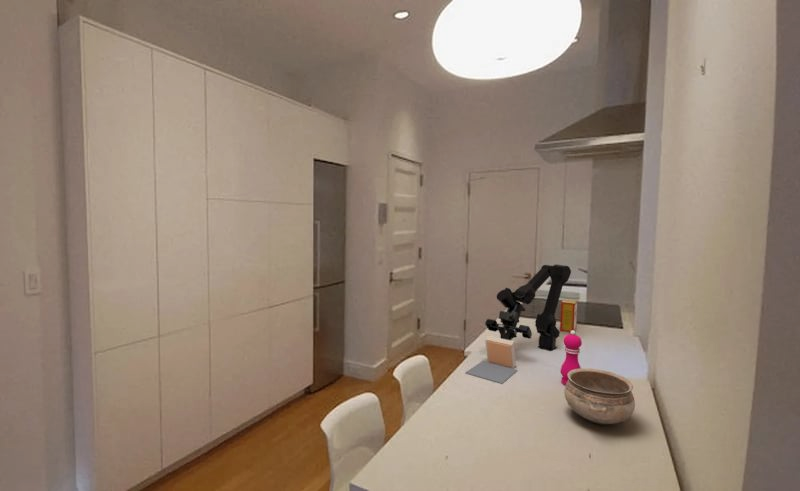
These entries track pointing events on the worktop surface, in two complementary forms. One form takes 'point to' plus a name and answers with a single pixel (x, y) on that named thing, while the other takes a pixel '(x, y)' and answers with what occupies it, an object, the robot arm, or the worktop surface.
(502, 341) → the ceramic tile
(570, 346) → the pepper mill
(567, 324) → the baking soda box
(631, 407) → the cooking pot
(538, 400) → the worktop surface
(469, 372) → the slate mat
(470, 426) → the worktop surface
